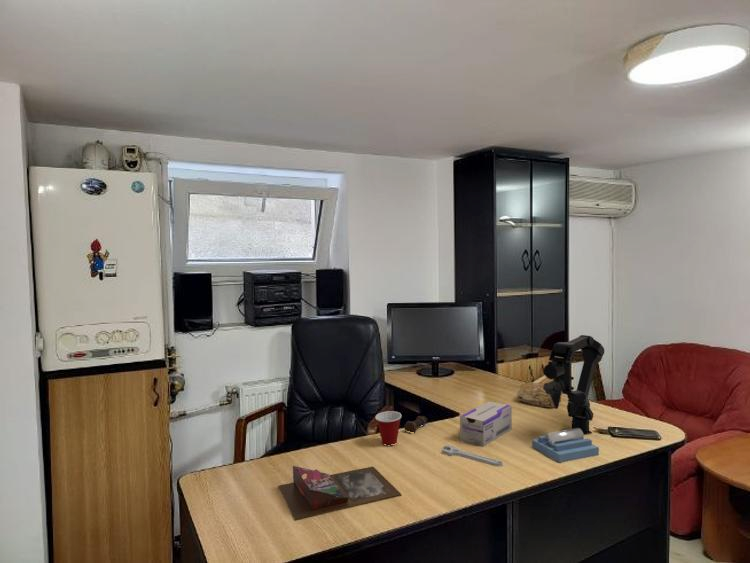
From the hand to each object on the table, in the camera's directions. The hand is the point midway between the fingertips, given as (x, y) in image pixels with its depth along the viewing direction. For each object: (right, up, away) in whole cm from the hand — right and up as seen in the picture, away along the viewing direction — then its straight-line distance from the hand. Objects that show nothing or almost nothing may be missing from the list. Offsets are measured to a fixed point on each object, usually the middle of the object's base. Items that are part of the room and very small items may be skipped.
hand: (564, 411), depth 203 cm
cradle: (-4, -12, -10) cm, 17 cm away
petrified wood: (+6, -9, +49) cm, 51 cm away
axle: (-4, -9, -11) cm, 15 cm away
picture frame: (-89, -17, -38) cm, 99 cm away
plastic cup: (-71, -14, +1) cm, 73 cm away
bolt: (-58, -13, +19) cm, 62 cm away
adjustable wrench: (-41, -14, -15) cm, 46 cm away
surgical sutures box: (-30, -12, +9) cm, 33 cm away
